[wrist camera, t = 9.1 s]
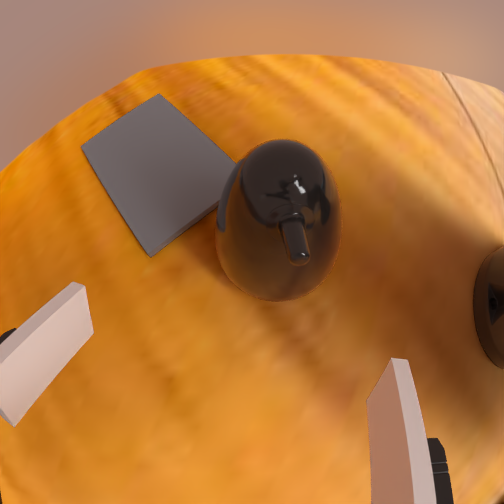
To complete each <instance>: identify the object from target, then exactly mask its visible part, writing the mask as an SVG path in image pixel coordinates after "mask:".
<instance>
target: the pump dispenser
mask: <svg viewBox="0 0 504 504" xmlns="http://www.w3.org/2000/svg"><path fill="white" fill-rule="evenodd" d="M341 238H342V208H341V200H340V195H339V191H338V187H337V184H336V181H335V179H334V176H333V174H332V172H331V170H330V169H329V167H328V165H327V164H326V162H325V161H324V160H323V159H322V158H321V156H320V155H319V154H318V153H317V152H316V151H314V150H313V149H312V148H310V147H309V146H307V145H305V144H303V143H301V142H298V141H295V140H290V139H274V140H270V141H266V142H264V143H261V144H259V145H257V146H256V147H254V148H253V149H251V150H250V151H249V152H248V153H246V154H245V155H244V156H243V157H242V158H241V159H240V160H239V162H238V163H237V164H236V166H235V167H234V168H233V170H232V172H231V173H230V175H229V177H228V179H227V181H226V183H225V186H224V189H223V191H222V194H221V198H220V201H219V205H218V209H217V215H216V223H215V244H216V251H217V255H218V259H219V262H220V264H221V266H222V268H223V270H224V272H225V274H226V275H227V277H228V278H229V279H230V280H231V281H232V283H233V284H234V285H236V286H237V287H238V288H239V289H240V290H242V291H243V292H245V293H247V294H249V295H251V296H253V297H255V298H258V299H262V300H266V301H275V302H280V301H289V300H294V299H297V298H300V297H303V296H305V295H307V294H309V293H310V292H312V291H313V290H315V289H316V288H317V287H318V286H320V285H321V284H322V283H323V281H324V280H325V279H326V278H327V277H328V275H329V274H330V272H331V270H332V269H333V267H334V264H335V262H336V260H337V257H338V253H339V249H340V244H341Z"/></svg>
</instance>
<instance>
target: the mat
mask: <svg viewBox="0 0 504 504" xmlns="http://www.w3.org/2000/svg"><path fill="white" fill-rule="evenodd" d="M81 148H82V150H83V151H84V153H85V155H86V157H87V158H88V160H89V162H90V164H91V165H92V167H93V169H94V171H95V172H96V174H97V176H98V177H99V179H100V181H101V182H102V184H103V186H104V187H105V189H106V191H107V192H108V194H109V196H110V197H111V199H112V201H113V202H114V204H115V205H116V207H117V209H118V210H119V212H120V213H121V215H122V216H123V218H124V220H125V221H126V223H127V224H128V226H129V227H130V229H131V230H132V232H133V233H134V235H135V236H136V238H137V239H138V241H139V242H140V244H141V245H142V247H143V248H144V250H145V251H146V253H147V254H148V255H149V256H150V257H152V256H154V255H155V254H156V253H157V252H159V251H160V250H161V249H162V248H164V247H165V246H166V245H168V244H169V243H170V242H172V241H173V240H174V239H175V238H177V237H178V236H179V235H181V234H182V233H183V232H185V231H186V230H187V229H189V228H190V227H191V226H193V225H194V224H195V223H197V222H198V221H199V220H201V219H202V218H203V217H205V216H206V215H207V214H209V213H210V212H211V211H213V210H214V209H215V208H217V207H218V205H219V201H220V198H221V194H222V191H223V189H224V186H225V183H226V181H227V179H228V177H229V175H230V173H231V172H232V170H233V168H234V167H235V166H236V163H235V162H234V161H233V160H232V159H231V158H230V157H228V156H227V155H226V154H225V153H224V152H223V151H222V150H221V149H220V148H219V147H218V146H217V145H216V144H215V143H214V142H213V141H211V140H210V139H209V138H208V137H207V136H206V135H205V134H204V133H203V132H202V131H201V130H200V129H198V128H197V127H196V126H195V125H194V124H193V123H192V122H191V121H190V120H189V119H187V118H186V117H185V116H184V115H183V114H182V113H181V112H180V111H179V110H177V109H176V108H175V107H174V106H173V105H172V104H171V103H170V102H168V101H167V100H166V99H165V98H164V97H163V96H162V95H160V94H157V95H156V96H154V97H152V98H151V99H149V100H147V101H146V102H144V103H143V104H141V105H139V106H138V107H136V108H135V109H133V110H132V111H130V112H128V113H127V114H125V115H124V116H122V117H121V118H119V119H118V120H117V121H115V122H114V123H112V124H111V125H109V126H108V127H106V128H105V129H104V130H102V131H101V132H100V133H98V134H97V135H95V136H94V137H93V138H91V139H90V140H89V141H87V142H86V143H85V144H83V145H82V146H81Z"/></svg>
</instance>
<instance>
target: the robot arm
mask: <svg viewBox="0 0 504 504" xmlns="http://www.w3.org/2000/svg"><path fill="white" fill-rule="evenodd" d="M474 317H475V324H476V328H477V332H478V336H479V339H480V342H481V344H482V346H483V348H484V350H485V352H486V354H487V355H488V357H489V358H490V359H491V360H492V362H493V363H495V364H496V365H497V366H498V367H500V368H502V369H504V246H502V247H501V248H499V249H498V250H496V251H494V252H493V253H491V254H490V255H489V256H488V257H487V258H486V259H485V261H484V262H483V264H482V266H481V268H480V270H479V272H478V275H477V279H476V283H475V289H474ZM93 334H94V330H93V326H92V321H91V316H90V311H89V305H88V300H87V294H86V288H85V286H84V285H81V284H79V283H76V282H72V283H70V284H69V285H68V286H67V287H66V288H64V289H63V290H62V291H61V292H59V293H58V294H57V295H56V296H55V297H53V298H52V299H51V300H50V301H49V302H47V303H46V304H45V305H44V306H43V307H42V308H40V309H39V310H38V311H37V312H36V313H35V314H33V315H32V316H31V317H30V318H29V319H28V320H27V321H25V322H24V323H23V324H22V325H21V326H20V327H19V328H18V329H16V328H14V329H11V330H9V331H7V332H5V333H4V334H3V335H2V336H1V337H0V415H1V416H2V418H3V419H5V420H6V421H7V422H8V423H10V424H11V425H12V426H13V427H15V426H16V425H17V423H18V422H19V421H20V420H21V418H22V417H23V416H24V415H25V413H26V412H27V411H28V410H29V408H30V407H31V406H32V405H33V403H34V402H35V401H36V400H37V398H38V397H39V396H40V395H41V394H42V392H43V391H44V390H45V389H46V388H47V386H48V385H49V384H50V383H51V382H52V380H53V379H54V378H55V377H56V376H57V375H58V373H59V372H60V371H61V370H62V369H63V368H64V366H65V365H66V364H67V363H68V362H69V361H70V359H71V358H72V357H73V356H74V355H75V354H76V353H77V351H78V350H79V349H80V348H81V347H82V346H83V345H84V344H85V342H86V341H87V340H88V339H89V338H90V337H91V336H92V335H93ZM366 403H367V415H368V428H369V443H370V464H371V504H454V502H453V495H452V488H451V482H450V476H449V473H448V465H447V464H446V462H447V460H446V455H445V450H444V448H443V446H442V445H441V443H440V441H439V440H438V438H426V432H425V428H424V423H423V418H422V414H421V409H420V405H419V401H418V397H417V393H416V389H415V385H414V381H413V377H412V373H411V370H410V366H409V362H408V360H406V359H397V358H391V359H390V361H389V363H388V365H387V367H386V368H385V370H384V372H383V374H382V375H381V377H380V379H379V381H378V382H377V384H376V386H375V387H374V389H373V391H372V392H371V394H370V396H369V397H368V399H367V400H366ZM0 504H2V499H1V492H0Z"/></svg>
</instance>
